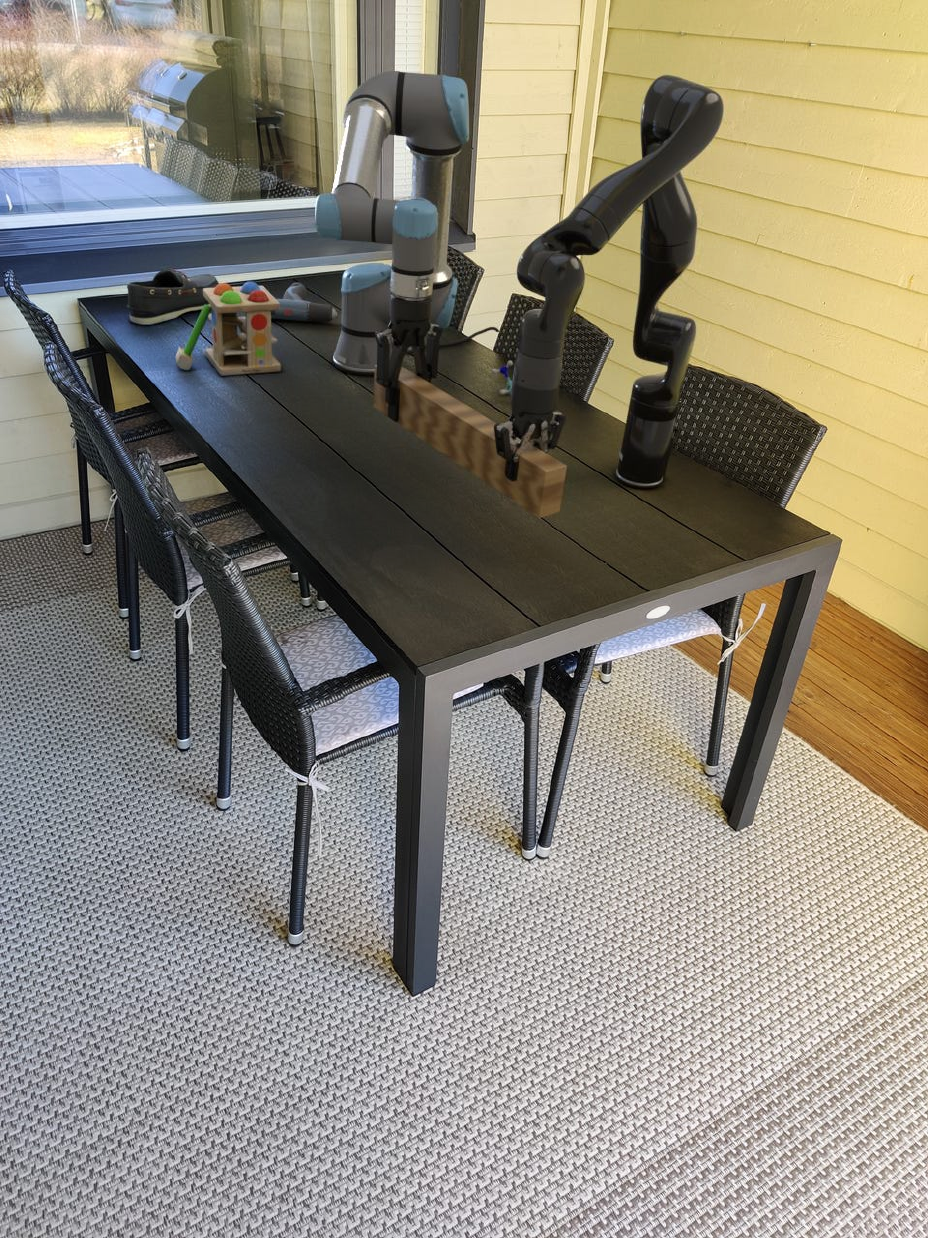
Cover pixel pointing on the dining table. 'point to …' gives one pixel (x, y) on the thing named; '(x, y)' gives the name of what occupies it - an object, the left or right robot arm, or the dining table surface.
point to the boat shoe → (167, 296)
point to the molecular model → (504, 371)
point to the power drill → (301, 307)
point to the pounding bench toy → (229, 347)
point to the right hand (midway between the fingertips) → (523, 475)
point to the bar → (474, 444)
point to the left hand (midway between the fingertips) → (404, 416)
